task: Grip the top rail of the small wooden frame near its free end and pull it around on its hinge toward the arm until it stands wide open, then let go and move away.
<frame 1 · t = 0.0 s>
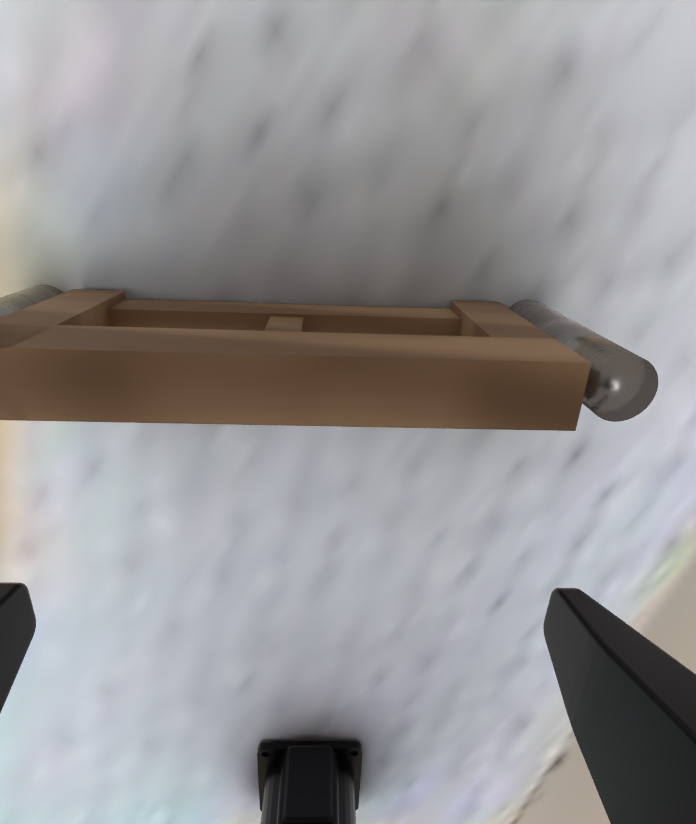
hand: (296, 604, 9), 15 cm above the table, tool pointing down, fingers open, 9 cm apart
wooden frame: (282, 348, 17), point 5 cm above the table, hinge at 0.0°
gate posts: (291, 316, 22), on the table
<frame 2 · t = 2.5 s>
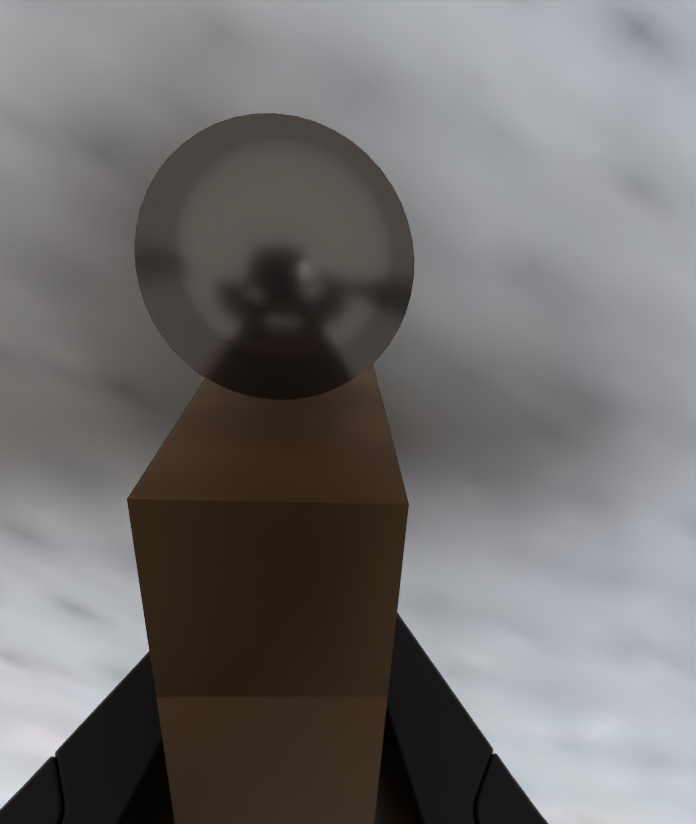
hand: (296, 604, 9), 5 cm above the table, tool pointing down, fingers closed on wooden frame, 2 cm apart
wooden frame: (295, 740, 11), point 5 cm above the table, hinge at 0.0°, touching gripper
gate posts: (305, 582, 15), on the table
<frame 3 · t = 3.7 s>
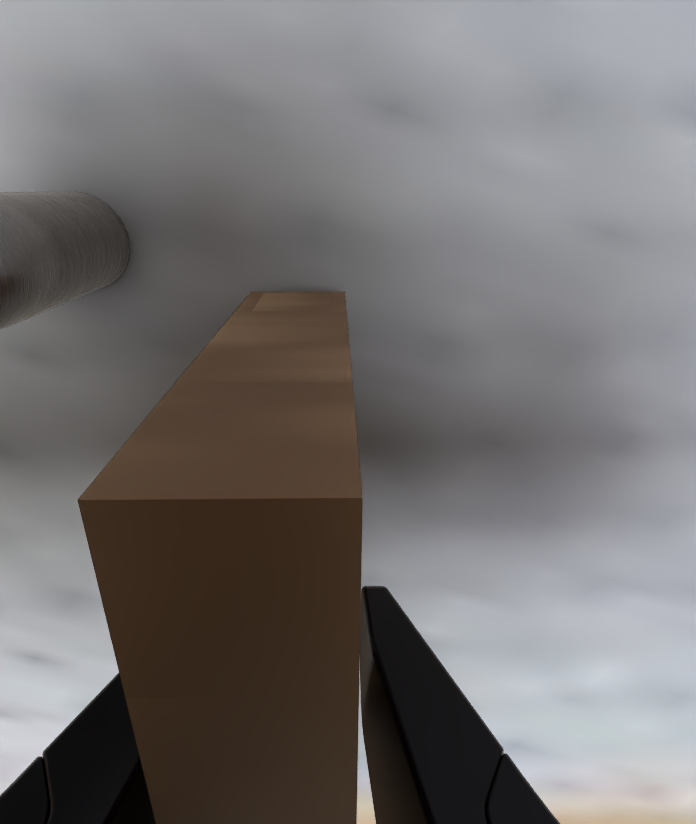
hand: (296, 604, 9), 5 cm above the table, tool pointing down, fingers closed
wooden frame: (298, 739, 11), point 5 cm above the table, hinge at 13.6°, touching gripper
gate posts: (229, 589, 15), on the table
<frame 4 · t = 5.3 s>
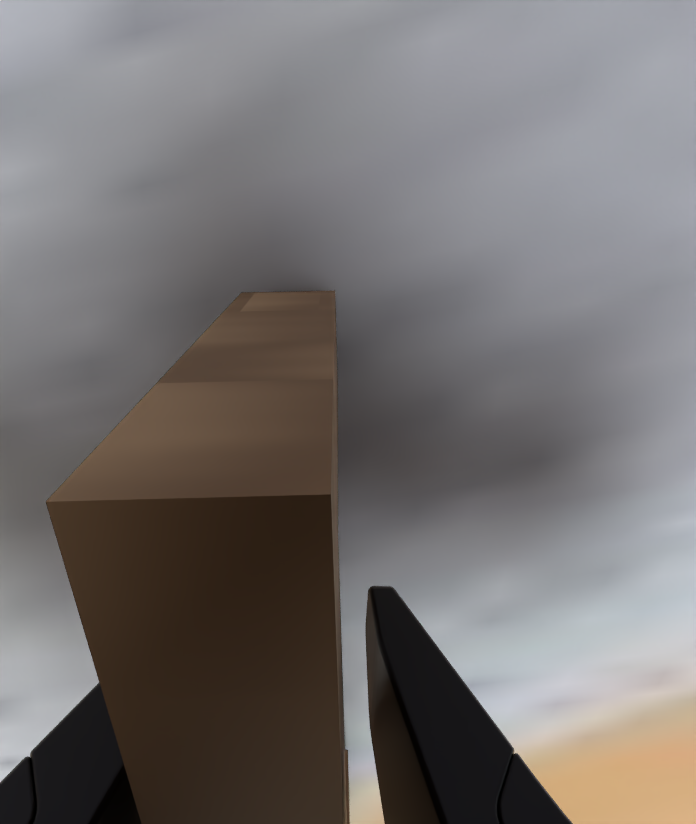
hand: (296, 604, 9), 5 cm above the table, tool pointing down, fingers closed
wooden frame: (297, 739, 11), point 5 cm above the table, hinge at 41.1°, touching gripper
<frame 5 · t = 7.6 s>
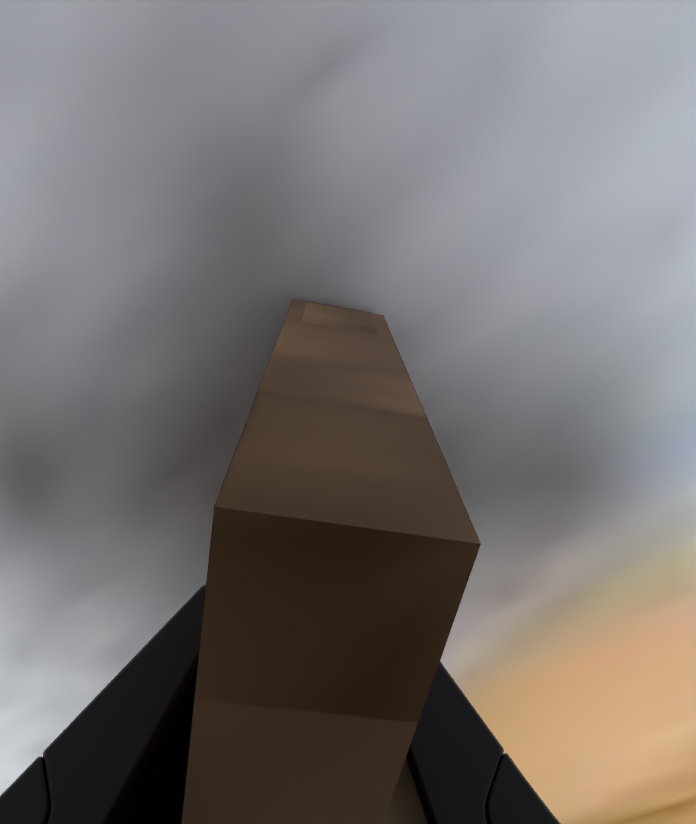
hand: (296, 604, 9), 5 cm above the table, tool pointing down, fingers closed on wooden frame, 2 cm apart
wooden frame: (267, 747, 11), point 5 cm above the table, hinge at 74.2°, touching gripper
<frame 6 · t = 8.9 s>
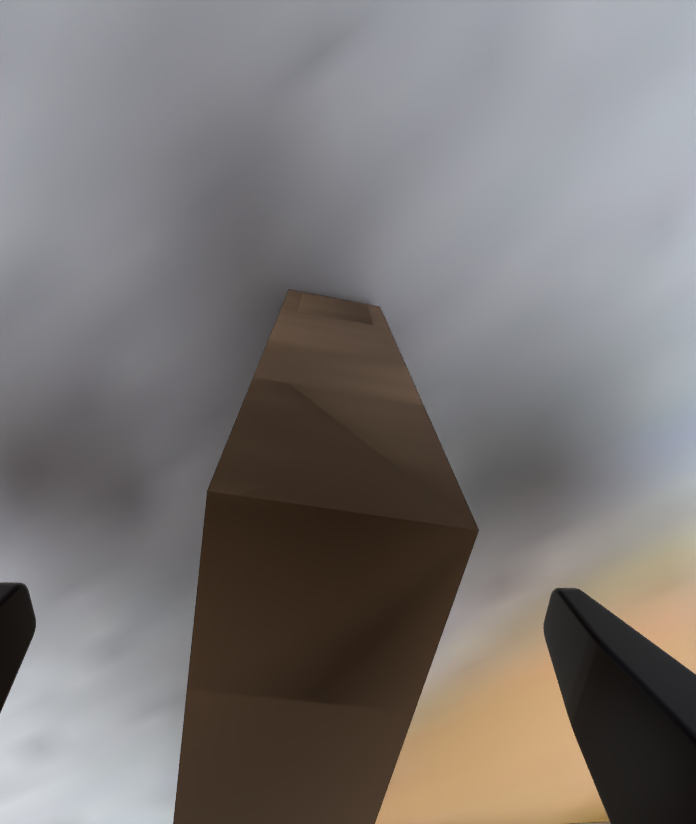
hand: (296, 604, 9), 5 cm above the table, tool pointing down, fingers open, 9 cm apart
wooden frame: (262, 740, 11), point 5 cm above the table, hinge at 74.4°
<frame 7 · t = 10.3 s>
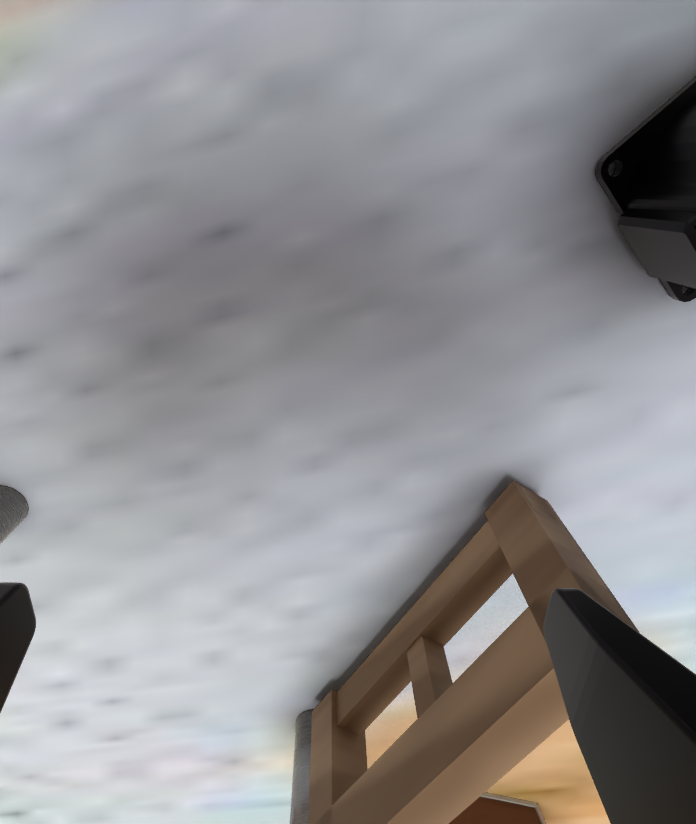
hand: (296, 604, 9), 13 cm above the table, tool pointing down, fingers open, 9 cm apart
food container: (451, 814, 33), on the table
wooden frame: (433, 688, 22), point 5 cm above the table, hinge at 74.4°
gate posts: (178, 626, 26), on the table
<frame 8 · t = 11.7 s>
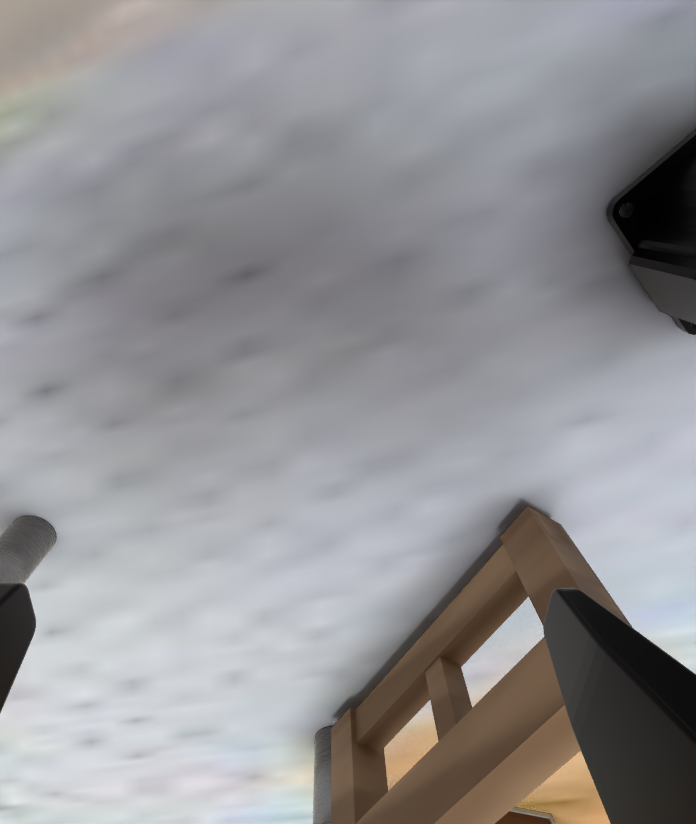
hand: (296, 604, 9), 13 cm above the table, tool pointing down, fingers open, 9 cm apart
wooden frame: (452, 710, 22), point 5 cm above the table, hinge at 74.4°
gate posts: (200, 648, 27), on the table
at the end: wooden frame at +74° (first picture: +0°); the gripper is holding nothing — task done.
